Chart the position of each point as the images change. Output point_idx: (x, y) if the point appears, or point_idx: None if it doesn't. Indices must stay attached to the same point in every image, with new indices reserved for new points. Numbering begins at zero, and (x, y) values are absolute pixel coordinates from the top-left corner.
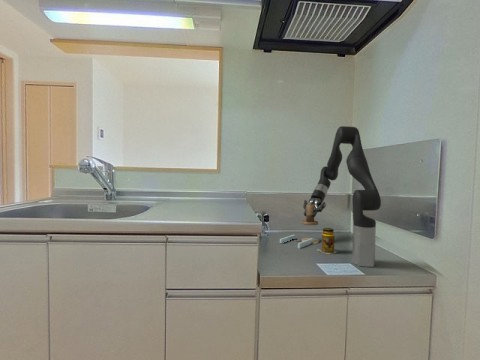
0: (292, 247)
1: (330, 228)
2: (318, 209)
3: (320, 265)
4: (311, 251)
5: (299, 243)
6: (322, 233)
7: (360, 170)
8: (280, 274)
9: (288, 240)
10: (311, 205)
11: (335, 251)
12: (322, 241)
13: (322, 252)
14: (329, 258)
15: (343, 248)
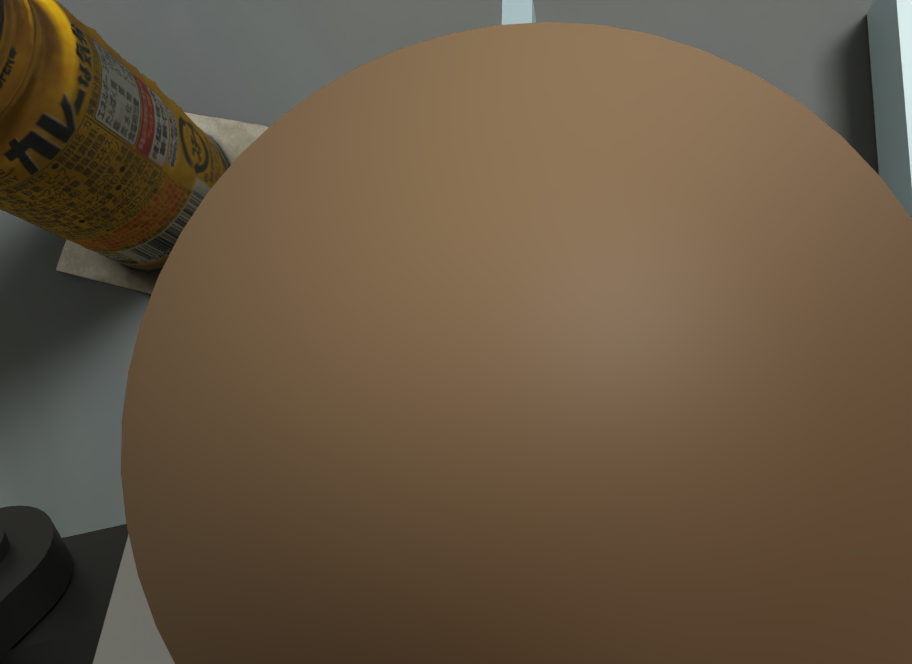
0: (611, 2)
1: None
2: (18, 507)
3: None
4: (324, 54)
5: (510, 9)
6: (64, 36)
7: None
8: None
9: None
10: (246, 163)
11: (88, 262)
12: (126, 61)
13: (200, 116)
14: (68, 3)
15: (53, 476)
